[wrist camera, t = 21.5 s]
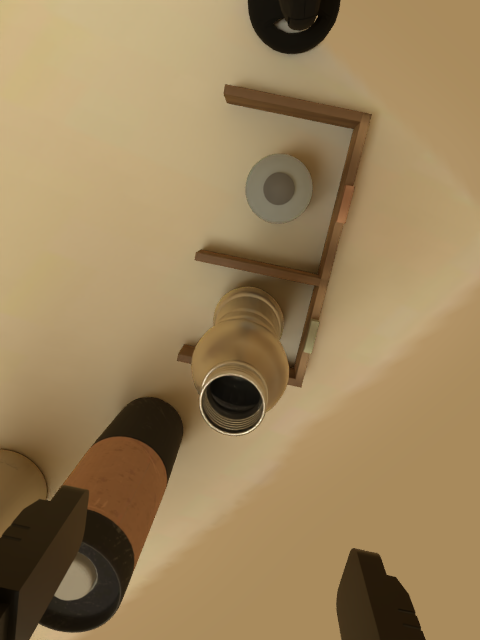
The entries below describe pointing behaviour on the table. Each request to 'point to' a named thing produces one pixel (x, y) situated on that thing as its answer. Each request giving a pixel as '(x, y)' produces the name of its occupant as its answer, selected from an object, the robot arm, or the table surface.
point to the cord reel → (279, 188)
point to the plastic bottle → (241, 362)
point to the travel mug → (116, 511)
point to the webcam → (293, 22)
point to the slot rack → (339, 216)
